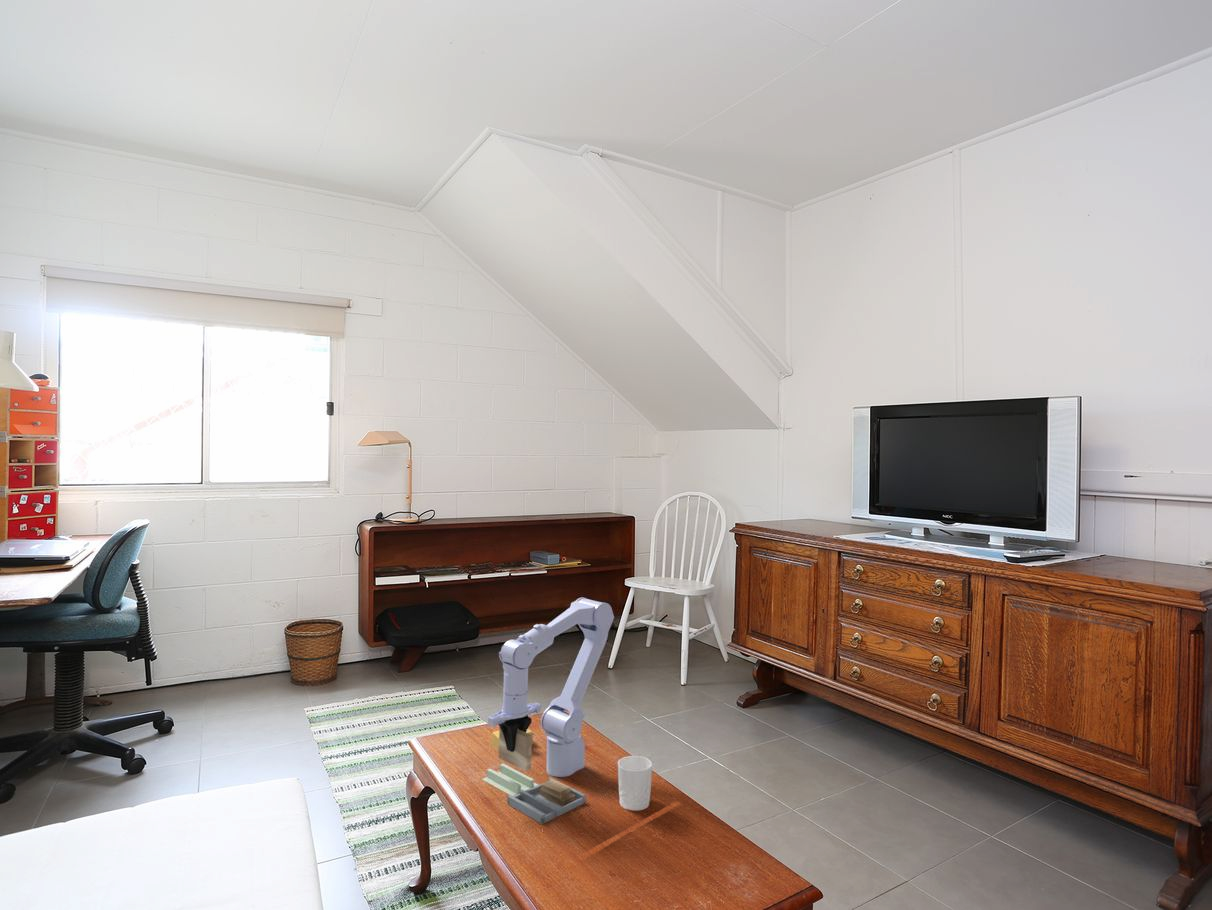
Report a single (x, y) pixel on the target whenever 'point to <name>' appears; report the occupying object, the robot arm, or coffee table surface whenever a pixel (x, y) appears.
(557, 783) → the offcut upper
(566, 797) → the offcut lower
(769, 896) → the coffee table surface
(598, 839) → the coffee table surface
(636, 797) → the white cup
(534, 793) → the tray
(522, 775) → the stand
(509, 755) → the birch sheet
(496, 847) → the coffee table surface
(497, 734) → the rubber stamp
